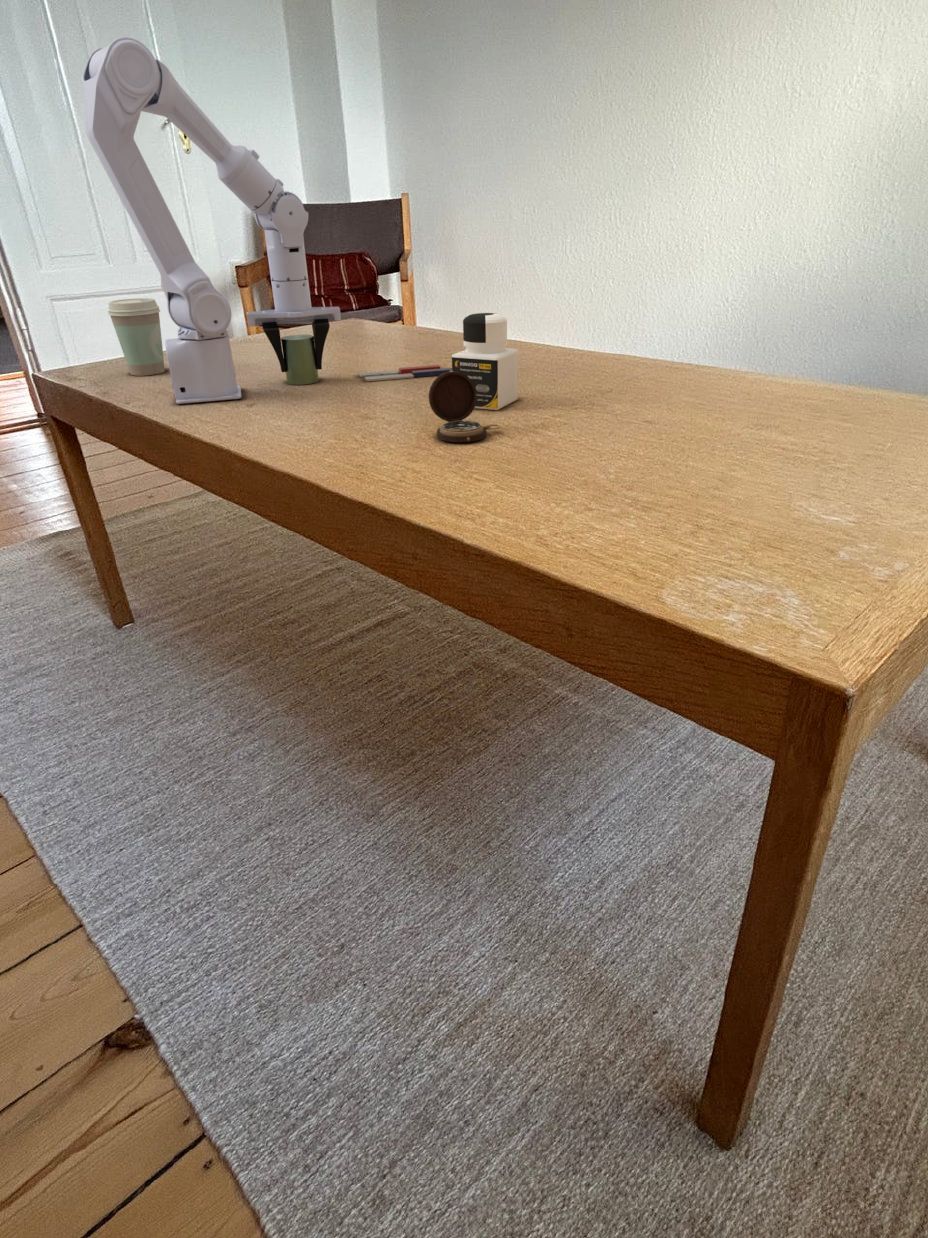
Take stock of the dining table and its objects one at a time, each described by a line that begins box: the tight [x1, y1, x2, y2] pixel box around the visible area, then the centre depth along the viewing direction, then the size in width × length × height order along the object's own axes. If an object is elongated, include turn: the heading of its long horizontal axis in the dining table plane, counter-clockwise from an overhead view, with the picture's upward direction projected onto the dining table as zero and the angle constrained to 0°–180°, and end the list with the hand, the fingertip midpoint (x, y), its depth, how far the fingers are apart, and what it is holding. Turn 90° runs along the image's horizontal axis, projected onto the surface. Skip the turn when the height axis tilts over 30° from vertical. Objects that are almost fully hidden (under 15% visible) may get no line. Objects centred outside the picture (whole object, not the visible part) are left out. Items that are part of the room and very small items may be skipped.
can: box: [280, 334, 320, 386], centre depth 123 cm, size 5×5×7 cm
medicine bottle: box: [451, 312, 519, 411], centre depth 105 cm, size 7×7×12 cm
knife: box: [364, 367, 452, 383], centre depth 125 cm, size 15×2×1 cm, turn 105°
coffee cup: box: [107, 297, 166, 377], centre depth 132 cm, size 8×8×12 cm
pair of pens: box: [357, 364, 441, 379], centre depth 128 cm, size 14×2×1 cm, turn 105°
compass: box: [428, 370, 501, 444], centre depth 92 cm, size 8×8×7 cm
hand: (301, 369), depth 124 cm, fingers closed on can, 5 cm apart
